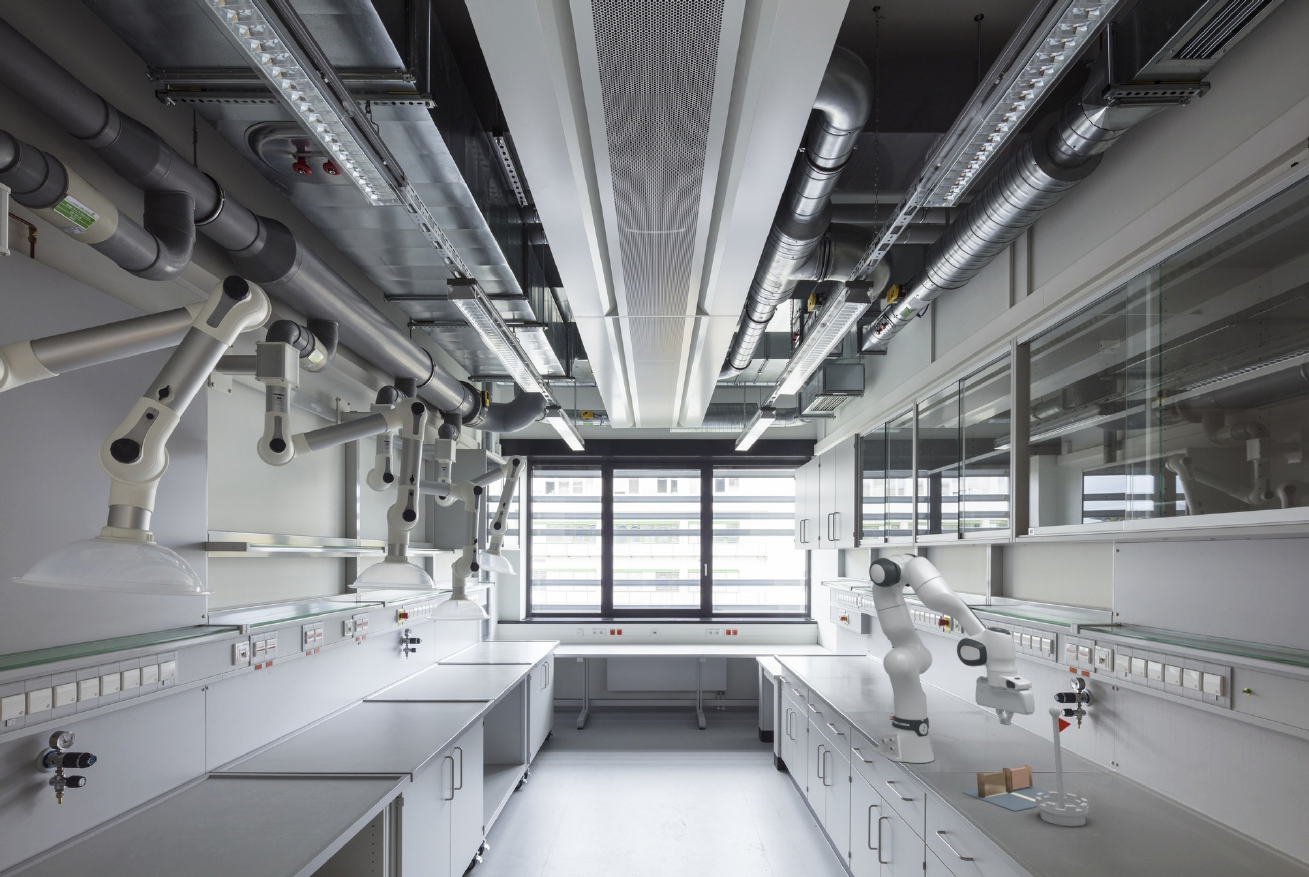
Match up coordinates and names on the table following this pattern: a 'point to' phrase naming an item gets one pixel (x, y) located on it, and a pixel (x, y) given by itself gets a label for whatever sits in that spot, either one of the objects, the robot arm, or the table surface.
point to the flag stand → (1061, 788)
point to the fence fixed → (994, 783)
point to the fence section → (1021, 777)
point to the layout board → (1012, 798)
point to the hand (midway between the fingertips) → (1005, 724)
